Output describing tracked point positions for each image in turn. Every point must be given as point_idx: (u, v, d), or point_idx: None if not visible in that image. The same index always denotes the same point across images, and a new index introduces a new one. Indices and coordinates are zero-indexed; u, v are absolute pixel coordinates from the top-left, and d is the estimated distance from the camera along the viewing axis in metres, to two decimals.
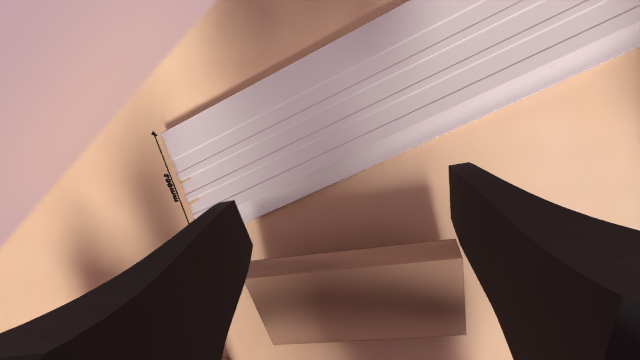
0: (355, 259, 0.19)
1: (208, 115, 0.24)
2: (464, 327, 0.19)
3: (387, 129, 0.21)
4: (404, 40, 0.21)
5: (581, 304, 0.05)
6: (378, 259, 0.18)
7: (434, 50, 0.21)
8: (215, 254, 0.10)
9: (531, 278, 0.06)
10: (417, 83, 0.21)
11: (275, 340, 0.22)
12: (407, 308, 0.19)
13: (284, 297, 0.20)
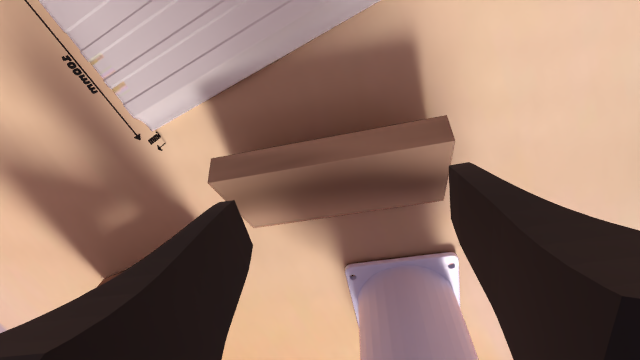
0: (334, 149, 0.16)
1: None
2: (443, 195, 0.20)
3: None
4: None
5: (581, 304, 0.05)
6: (360, 148, 0.16)
7: None
8: (215, 254, 0.10)
9: (531, 278, 0.06)
10: None
11: (255, 224, 0.22)
12: (388, 187, 0.18)
13: (257, 193, 0.18)
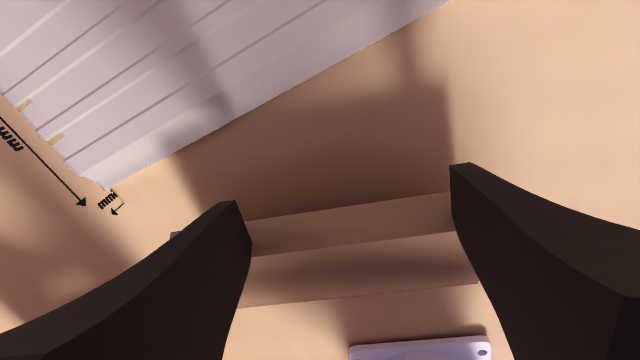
0: (334, 228, 0.12)
1: None
2: (477, 278, 0.15)
3: None
4: None
5: (582, 304, 0.05)
6: (370, 228, 0.12)
7: None
8: (216, 254, 0.10)
9: (532, 278, 0.06)
10: None
11: None
12: (407, 272, 0.14)
13: None
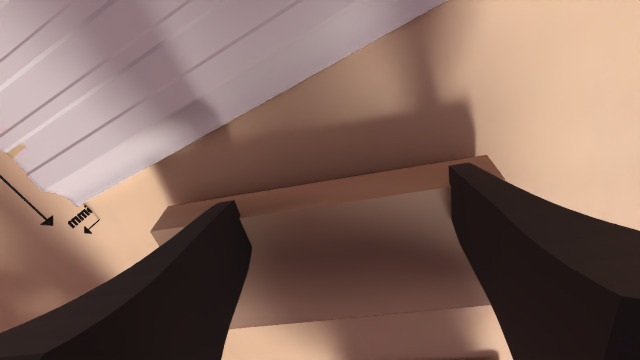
0: (328, 193, 0.12)
1: None
2: None
3: None
4: None
5: (580, 304, 0.05)
6: (365, 190, 0.11)
7: None
8: (215, 254, 0.10)
9: (531, 278, 0.06)
10: None
11: None
12: (409, 267, 0.12)
13: None
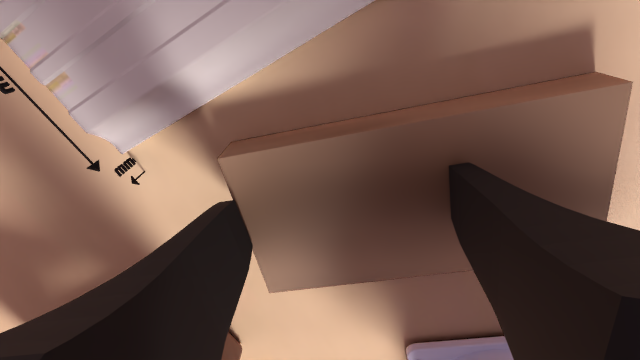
0: (418, 114, 0.10)
1: None
2: None
3: None
4: None
5: (581, 304, 0.05)
6: (463, 107, 0.10)
7: None
8: (215, 254, 0.10)
9: (531, 278, 0.06)
10: None
11: (273, 283, 0.13)
12: None
13: (289, 195, 0.11)
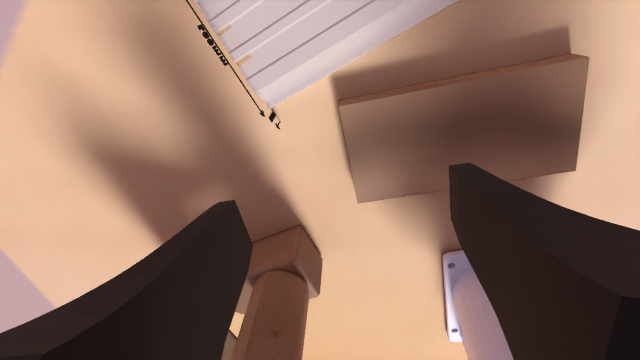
0: (463, 78, 0.17)
1: None
2: (575, 159, 0.18)
3: None
4: None
5: (581, 304, 0.05)
6: (491, 74, 0.17)
7: None
8: (215, 254, 0.10)
9: (531, 278, 0.06)
10: None
11: (361, 196, 0.20)
12: (516, 135, 0.18)
13: (381, 131, 0.18)
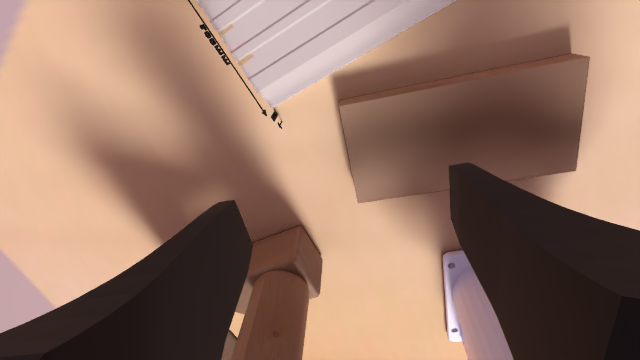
0: (464, 78, 0.17)
1: None
2: (575, 159, 0.18)
3: None
4: None
5: (580, 304, 0.05)
6: (491, 73, 0.17)
7: None
8: (215, 254, 0.10)
9: (531, 278, 0.06)
10: None
11: (361, 195, 0.20)
12: (517, 135, 0.18)
13: (381, 130, 0.18)
